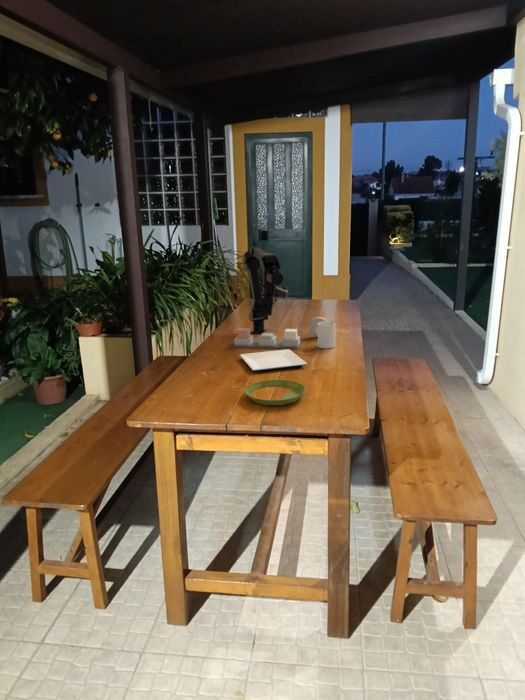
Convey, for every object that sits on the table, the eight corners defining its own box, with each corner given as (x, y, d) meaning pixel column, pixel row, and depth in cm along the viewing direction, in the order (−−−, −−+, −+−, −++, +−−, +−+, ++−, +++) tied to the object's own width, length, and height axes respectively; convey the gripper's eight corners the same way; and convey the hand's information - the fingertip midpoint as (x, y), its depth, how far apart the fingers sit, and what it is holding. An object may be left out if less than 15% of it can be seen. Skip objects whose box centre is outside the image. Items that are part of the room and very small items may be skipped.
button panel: (239, 341, 259) (238, 333, 258) (300, 343, 253) (300, 335, 252) (234, 347, 249) (233, 339, 248) (297, 349, 244) (297, 340, 243)
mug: (333, 349, 242) (333, 325, 239) (316, 348, 244) (316, 325, 241) (338, 341, 253) (338, 319, 250) (321, 341, 255) (321, 319, 252)
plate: (252, 374, 212) (252, 369, 212) (239, 358, 233) (239, 354, 232) (307, 368, 218) (307, 363, 217) (289, 353, 239) (289, 348, 238)
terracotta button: (239, 336, 255) (239, 328, 254) (250, 336, 254) (249, 328, 253) (237, 339, 251) (236, 330, 249) (247, 339, 250) (247, 330, 248)
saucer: (317, 395, 189) (317, 386, 188) (279, 414, 174) (278, 405, 173) (272, 383, 202) (272, 375, 201) (232, 400, 187) (232, 391, 187)
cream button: (286, 337, 251) (286, 328, 250) (297, 337, 250) (297, 329, 249) (284, 340, 246) (284, 331, 245) (295, 340, 245) (295, 331, 244)
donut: (308, 338, 261) (308, 317, 258) (308, 336, 264) (308, 316, 261) (329, 338, 260) (329, 317, 257) (329, 336, 263) (329, 316, 260)
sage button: (263, 341, 254) (262, 332, 253) (273, 341, 253) (273, 333, 252) (260, 344, 249) (260, 335, 248) (271, 344, 248) (271, 335, 247)
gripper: (283, 285, 242) (284, 320, 246) (289, 278, 259) (290, 311, 263) (258, 285, 244) (259, 319, 248) (266, 278, 261) (267, 311, 266)
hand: (270, 315), depth 256 cm, fingers closed
